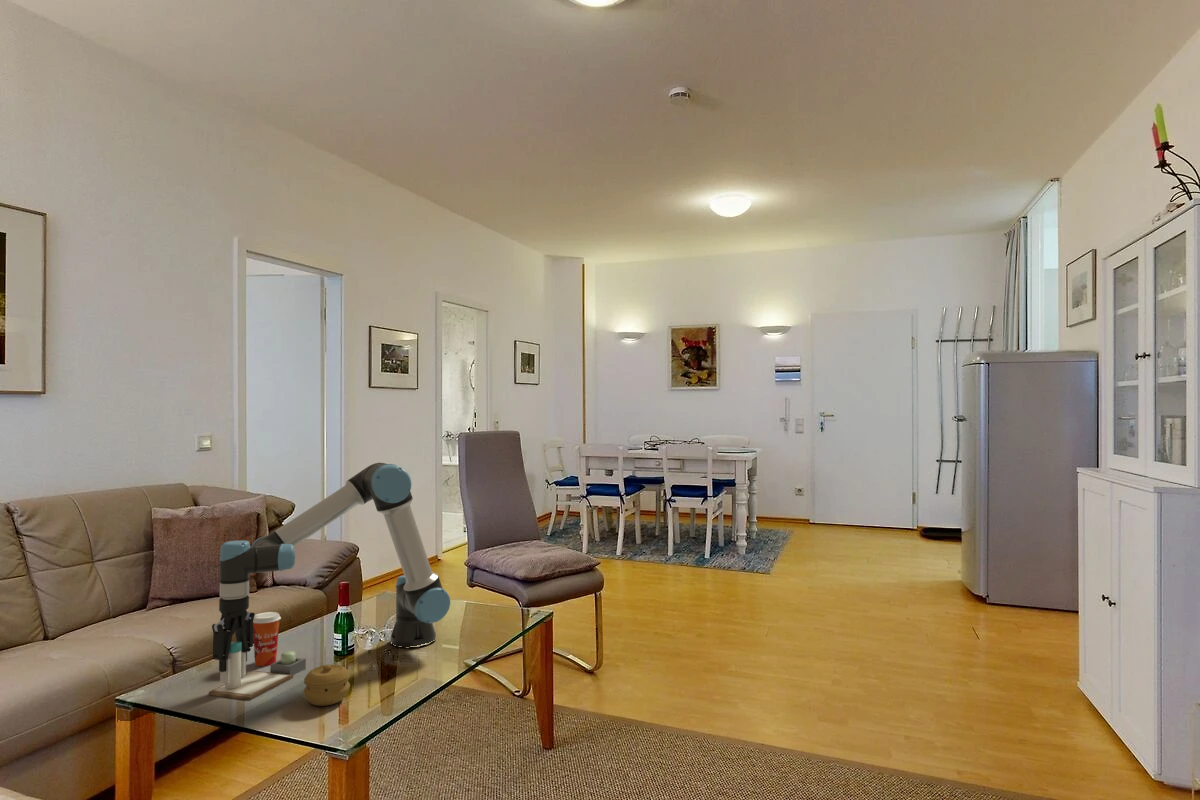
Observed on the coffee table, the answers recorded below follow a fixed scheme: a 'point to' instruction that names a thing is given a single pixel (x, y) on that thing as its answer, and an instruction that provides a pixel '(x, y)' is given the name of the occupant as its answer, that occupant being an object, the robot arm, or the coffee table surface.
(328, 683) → the pot
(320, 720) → the coffee table surface
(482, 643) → the coffee table surface
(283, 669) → the button housing
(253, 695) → the drawing board
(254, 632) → the coffee cup
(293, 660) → the button
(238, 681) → the marker
